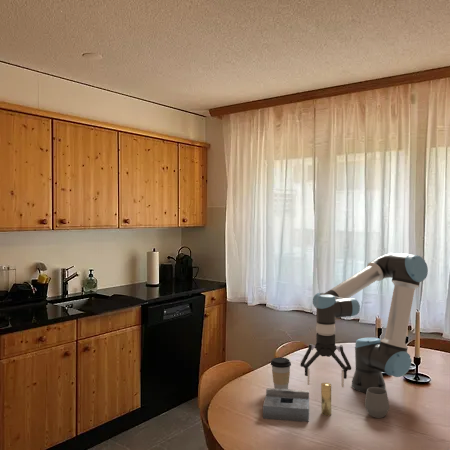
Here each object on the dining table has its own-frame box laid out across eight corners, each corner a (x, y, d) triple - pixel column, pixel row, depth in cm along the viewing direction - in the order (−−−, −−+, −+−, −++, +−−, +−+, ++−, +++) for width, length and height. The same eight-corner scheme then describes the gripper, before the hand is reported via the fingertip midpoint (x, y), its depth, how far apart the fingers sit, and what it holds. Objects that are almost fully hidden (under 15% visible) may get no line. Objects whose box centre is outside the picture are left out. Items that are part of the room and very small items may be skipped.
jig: (309, 407, 190) (309, 390, 189) (308, 421, 176) (308, 404, 176) (266, 404, 193) (266, 387, 193) (263, 418, 179) (262, 400, 179)
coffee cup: (290, 397, 200) (290, 363, 200) (269, 395, 202) (269, 362, 202) (291, 389, 210) (291, 357, 209) (271, 387, 211) (271, 356, 211)
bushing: (331, 411, 185) (331, 382, 185) (331, 415, 181) (331, 386, 181) (321, 411, 186) (321, 382, 185) (321, 415, 182) (321, 385, 181)
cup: (386, 422, 175) (386, 397, 174) (362, 417, 180) (361, 392, 179) (391, 413, 183) (391, 389, 183) (368, 408, 188) (368, 384, 187)
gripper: (356, 332, 184) (356, 384, 184) (295, 329, 189) (295, 379, 189) (358, 337, 177) (357, 390, 177) (294, 333, 182) (294, 385, 182)
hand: (325, 385), depth 183 cm, fingers open, 13 cm apart
